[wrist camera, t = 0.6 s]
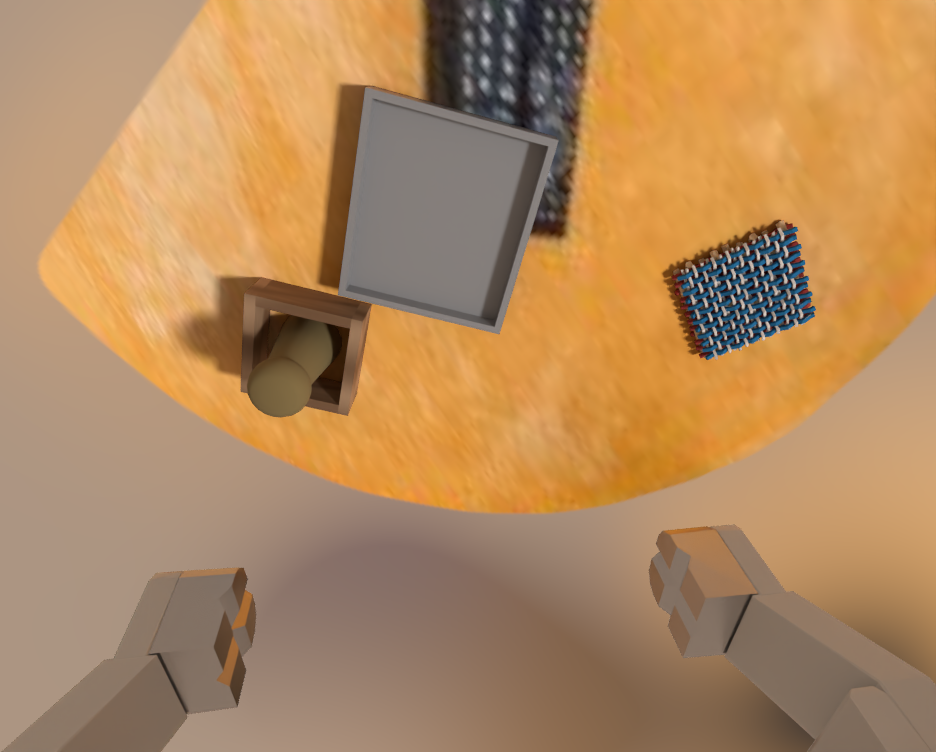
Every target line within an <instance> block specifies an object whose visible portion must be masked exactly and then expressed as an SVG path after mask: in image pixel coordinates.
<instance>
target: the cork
mask: <svg viewBox="0 0 936 752" xmlns="http://www.w3.org/2000/svg"><path fill="white" fill-rule="evenodd" d="M341 347H342V338H341V335H340V332H339V330H338V328H337V327H336V326H335V325H332V324H328V323H324V322H319V321H315V320H311V319H307V318H303V317H298V316H294V315H291V316H290V317H288V319H287V320H286V321H285V322H284V324H283V326H282V328H281V331H280V333H279V335H278V337H277V339H276V342H275V344H274V346H273V348H272V351H271V353H270V355H269V357H268V359H266V360H264V361H263V362H261V363H259V364H257V366H256V367H255V368H254V369H253V371H252V372H251V373H250V375H249V379H248V383H247V391H248V395H249V398H250V400H251V402H252V403H253V404H254V406H255V407H256V408H257V409H258V410H260V411H261V412H263V413H264V414H267V415H270V416H273V417H286V416H292V415H294V414H296V413H298V412H299V411H300V410H302V409H303V407H304V406H305V405H306V404H307V403H308V401H309V398H310V395H311V391H312V386H311V385H312V384H313V382H314V381H315V380H316V379H317V378H318V377H319V376H320V375H321V374H322V372H323V371H324V370H325V369H326V368H327V367H328V366H329V365H330V364H331V363H332V361H333V360H334V359H335V358H336V357H337V356H338V355H339V353H340V350H341Z"/></svg>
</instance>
